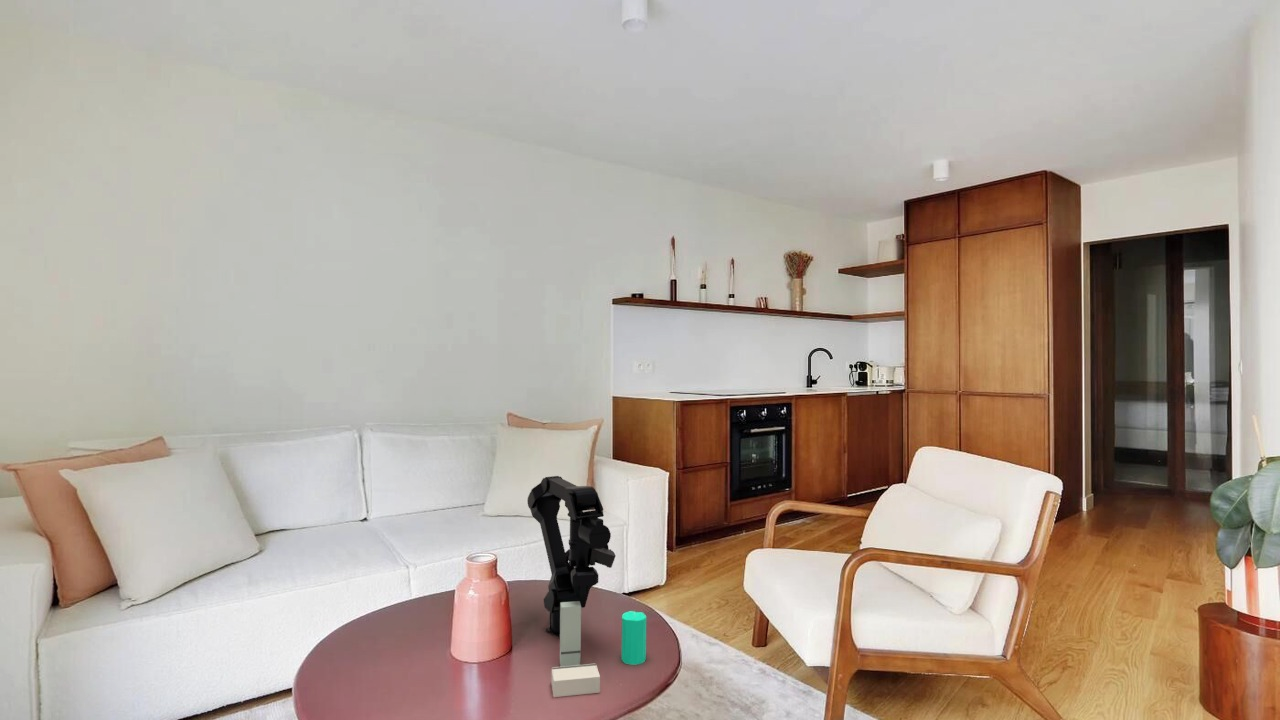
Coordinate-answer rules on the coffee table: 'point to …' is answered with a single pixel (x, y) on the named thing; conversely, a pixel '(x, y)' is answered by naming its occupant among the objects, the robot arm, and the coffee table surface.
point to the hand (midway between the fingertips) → (580, 600)
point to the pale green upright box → (570, 633)
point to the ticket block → (575, 680)
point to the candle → (633, 637)
